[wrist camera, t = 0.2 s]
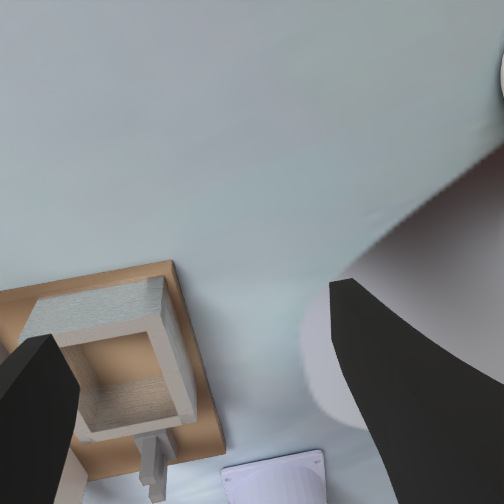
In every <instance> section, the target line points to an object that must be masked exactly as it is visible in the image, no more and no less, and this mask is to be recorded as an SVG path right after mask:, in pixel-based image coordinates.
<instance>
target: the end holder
mask: <svg viewBox="0 0 504 504" xmlns="http://www.w3.org/2000/svg"><path fill="white" fill-rule="evenodd" d="M145 331H147V333H148V336H149V339H150V341H151V344H152V347H153V349H154V352H155V354H156V357H157V360H158V362H159V365H160V368H161V370H162V373H163V375H160V376H155V377H149V378H144V379H139V380H134V381H129V382H123V383H118V384H113V385H108V386H103V387H102V386H101V384H100V382H99V380H98V378H97V376H96V374H95V372H94V370H93V368H92V366H91V364H90V362H89V360H88V358H87V356H86V355H85V353H84V351H83V349H82V347H81V345H80V344H82V343H87V342H92V341H97V340H103V339H108V338H113V337H119V336H124V335H129V334H134V333H140V332H145ZM46 334H52V335H53V337H54V339H55V341H56V343H57V345H58V346H59V348H60V350H61V352H62V354H63V356H64V358H65V359H66V361H67V363H68V365H69V367H70V369H71V370H72V372H73V374H74V376H75V378H76V380H77V381H78V383H79V385H80V395H79V403H78V410H77V417H76V423H75V428H74V434H75V435H76V437H77V438H78V440H79V442H80V443H81V445H83V444H88V443H93V442H98V441H103V440H108V439H114V438H119V437H124V436H129V435H134V434H139V433H144V432H149V431H154V430H159V429H164V428H170V427H175V426H180V425H185V424H190V423H195V422H197V388H196V375H195V372H194V369H193V366H192V363H191V359H190V356H189V353H188V350H187V347H186V343H185V340H184V337H183V334H182V331H181V328H180V324H179V321H178V318H177V315H176V312H175V308H174V305H173V302H172V299H171V296H170V293H169V289H168V286H167V283H166V280H165V277H164V275H160V276H154V277H149V278H143V279H138V280H132V281H127V282H122V283H116V284H111V285H105V286H100V287H95V288H89V289H84V290H78V291H73V292H68V293H62V294H57V295H51V296H46V297H40V298H38V300H37V302H36V304H35V306H34V308H33V310H32V312H31V314H30V316H29V318H28V320H27V322H26V324H25V326H24V328H23V330H22V332H21V334H20V336H19V338H18V340H17V342H18V344H19V345H20V344H21V343H23V342H24V341H25V340H26V339H27V338H30V337H35V336H41V335H46Z"/></svg>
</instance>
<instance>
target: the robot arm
mask: <svg viewBox="0 0 504 504" xmlns="http://www.w3.org/2000/svg"><path fill="white" fill-rule="evenodd" d="M329 288H330V313H331V339H332V343H333V345H334V349H335V352H336V355H337V358H338V361H339V364H340V367H341V370H342V373H343V376H344V378H345V380H346V382H347V384H348V387H349V389H350V391H351V393H352V395H353V397H354V399H355V402H356V404H357V406H358V408H359V410H360V412H361V414H362V417H363V419H364V421H365V423H366V425H367V427H368V430H369V432H370V434H371V436H372V438H373V440H374V442H375V445H376V447H377V449H378V451H379V453H380V456H381V458H382V460H383V463H384V465H385V468H386V470H387V473H388V475H389V478H390V481H391V484H392V487H393V489H394V492H395V495H396V498H397V500H398V503H399V504H504V385H503V384H501V383H500V382H498V381H496V380H494V379H492V378H491V377H489V376H487V375H485V374H484V373H482V372H480V371H479V370H477V369H475V368H473V367H472V366H470V365H468V364H467V363H465V362H463V361H461V360H460V359H458V358H457V357H455V356H454V355H452V354H451V353H449V352H448V351H446V350H445V349H443V348H442V347H440V346H439V345H437V344H436V343H434V342H433V341H431V340H430V339H428V338H427V337H425V336H424V335H423V334H421V333H420V332H419V331H417V330H416V329H415V328H413V327H412V326H411V325H410V324H408V323H407V322H406V321H404V320H403V319H402V318H400V317H399V316H398V315H397V314H395V313H394V312H393V311H391V310H390V309H389V308H388V307H386V306H385V305H384V304H383V303H382V302H380V301H379V300H378V299H377V298H376V297H374V296H373V295H372V294H371V293H370V292H369V291H367V290H366V289H365V288H364V287H363V286H361V285H360V284H359V283H358V282H357V281H355V280H354V279H353V278H350V279H345V280H340V281H334V282H329ZM79 395H80V385H79V383H78V381H77V380H76V378H75V376H74V374H73V372H72V370H71V369H70V367H69V365H68V363H67V361H66V359H65V358H64V356H63V354H62V352H61V350H60V348H59V346H58V345H57V343H56V341H55V339H54V337H53V335H52V334H46V335H41V336H35V337H30V338H27V339H26V340H25V341H24V342H23V343H21V344H20V345H19V346H18V347H17V348H16V349H15V350H14V351H13V352H12V353H11V354H10V355H9V356H8V357H7V358H6V359H5V360H4V361H3V362H2V363H1V365H0V504H54V500H55V497H56V493H57V490H58V486H59V483H60V479H61V476H62V472H63V468H64V465H65V461H66V458H67V454H68V450H69V447H70V443H71V439H72V436H73V432H74V428H75V423H76V417H77V410H78V403H79ZM220 475H221V480H222V483H223V486H224V489H225V492H226V495H227V498H228V501H229V504H327V495H326V482H325V468H324V456H323V452H322V451H321V450H313V451H308V452H303V453H298V454H293V455H288V456H283V457H278V458H273V459H268V460H263V461H258V462H253V463H248V464H243V465H238V466H233V467H228V468H224V469H222V470H221V472H220Z"/></svg>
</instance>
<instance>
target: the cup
mask: <svg viewBox="0 0 504 504" xmlns="http://www.w3.org/2000/svg"><path fill="white" fill-rule="evenodd" d="M501 88H502V92H503V96H504V55H503V59H502V65H501Z"/></svg>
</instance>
